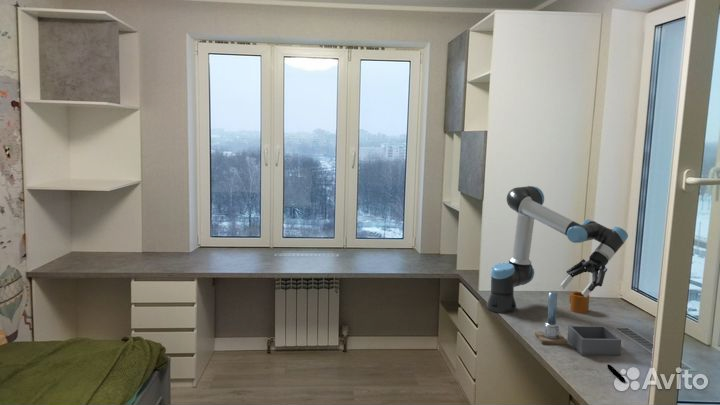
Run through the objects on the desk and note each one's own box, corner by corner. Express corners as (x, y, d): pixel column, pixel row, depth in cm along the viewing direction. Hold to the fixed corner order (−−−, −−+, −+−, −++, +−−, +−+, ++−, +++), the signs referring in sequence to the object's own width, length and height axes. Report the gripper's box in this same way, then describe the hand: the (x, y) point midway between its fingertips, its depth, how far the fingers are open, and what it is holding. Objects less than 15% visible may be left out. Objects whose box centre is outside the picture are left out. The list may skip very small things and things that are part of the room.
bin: (567, 340, 233) (568, 325, 232) (603, 341, 232) (604, 326, 231) (581, 355, 217) (582, 339, 216) (620, 356, 216) (621, 339, 215)
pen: (609, 367, 206) (609, 363, 206) (626, 383, 193) (626, 379, 192) (605, 367, 206) (605, 363, 206) (622, 383, 193) (622, 379, 192)
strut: (542, 331, 236) (544, 291, 234) (555, 331, 236) (557, 291, 234) (546, 336, 231) (548, 294, 228) (559, 336, 231) (562, 295, 228)
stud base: (534, 334, 239) (535, 321, 239) (558, 335, 239) (559, 322, 238) (542, 344, 229) (542, 330, 228) (567, 344, 228) (568, 331, 227)
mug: (580, 305, 281) (581, 289, 280) (591, 313, 269) (592, 296, 268) (564, 305, 280) (565, 289, 279) (574, 313, 269) (576, 296, 267)
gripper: (627, 267, 226) (597, 304, 224) (586, 255, 250) (558, 288, 247) (618, 256, 224) (588, 293, 221) (577, 245, 248) (549, 278, 245)
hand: (572, 291), depth 234 cm, fingers open, 13 cm apart
